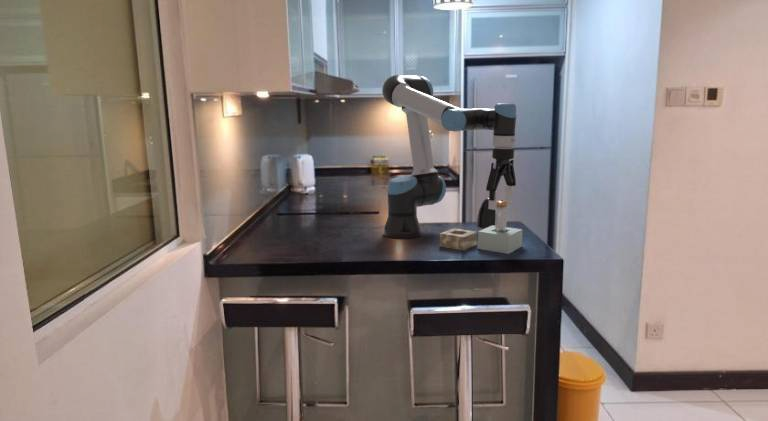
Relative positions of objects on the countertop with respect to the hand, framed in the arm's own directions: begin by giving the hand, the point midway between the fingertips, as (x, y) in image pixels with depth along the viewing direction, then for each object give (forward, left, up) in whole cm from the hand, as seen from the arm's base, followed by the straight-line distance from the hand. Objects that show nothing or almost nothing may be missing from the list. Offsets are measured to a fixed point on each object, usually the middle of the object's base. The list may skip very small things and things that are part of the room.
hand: (500, 206), depth 188 cm
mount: (-14, -6, -16) cm, 21 cm away
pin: (0, 0, -16) cm, 16 cm away
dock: (0, 0, -16) cm, 16 cm away
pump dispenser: (-12, +16, -16) cm, 25 cm away
